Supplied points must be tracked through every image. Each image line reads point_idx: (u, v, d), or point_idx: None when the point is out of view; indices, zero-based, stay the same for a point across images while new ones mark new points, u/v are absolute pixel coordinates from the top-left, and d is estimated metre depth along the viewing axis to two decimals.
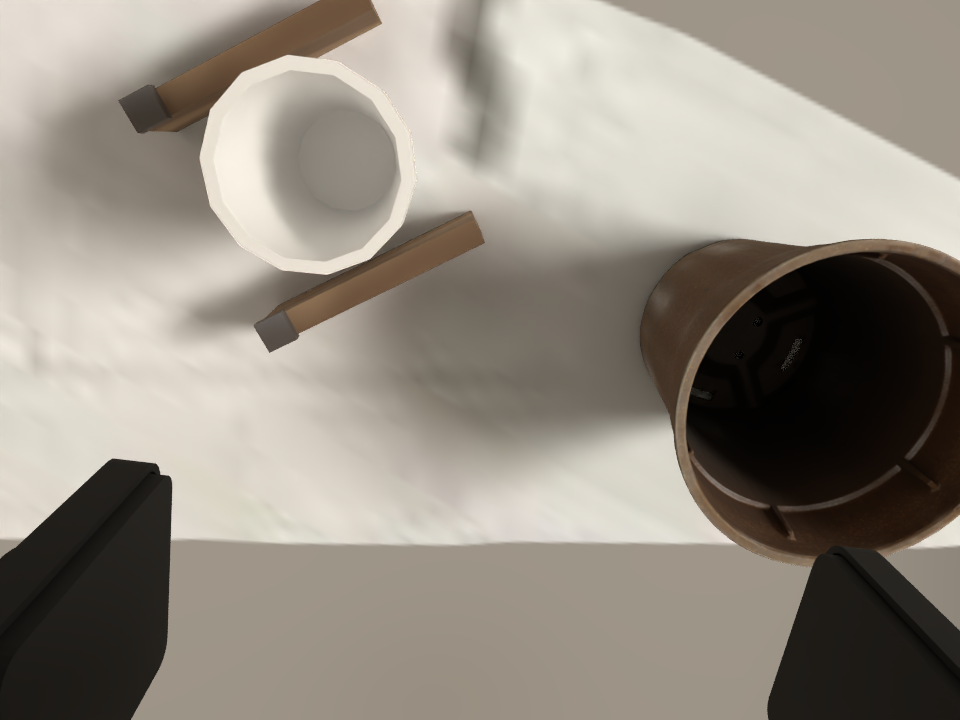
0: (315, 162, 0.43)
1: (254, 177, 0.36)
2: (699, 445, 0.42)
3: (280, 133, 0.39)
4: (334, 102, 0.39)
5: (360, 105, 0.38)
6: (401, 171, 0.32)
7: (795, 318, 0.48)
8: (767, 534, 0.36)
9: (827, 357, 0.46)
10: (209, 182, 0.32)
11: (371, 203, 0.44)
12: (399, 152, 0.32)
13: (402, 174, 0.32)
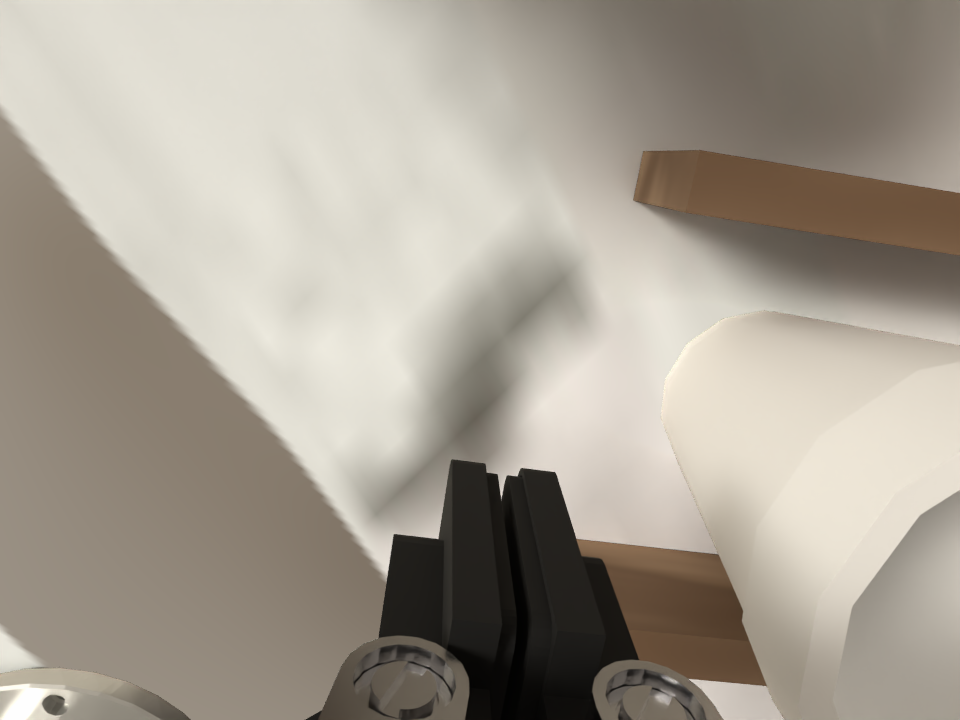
0: None
1: None
2: None
3: None
4: None
5: None
6: (904, 532, 0.11)
7: None
8: None
9: None
10: None
11: None
12: (871, 572, 0.11)
13: (906, 524, 0.11)
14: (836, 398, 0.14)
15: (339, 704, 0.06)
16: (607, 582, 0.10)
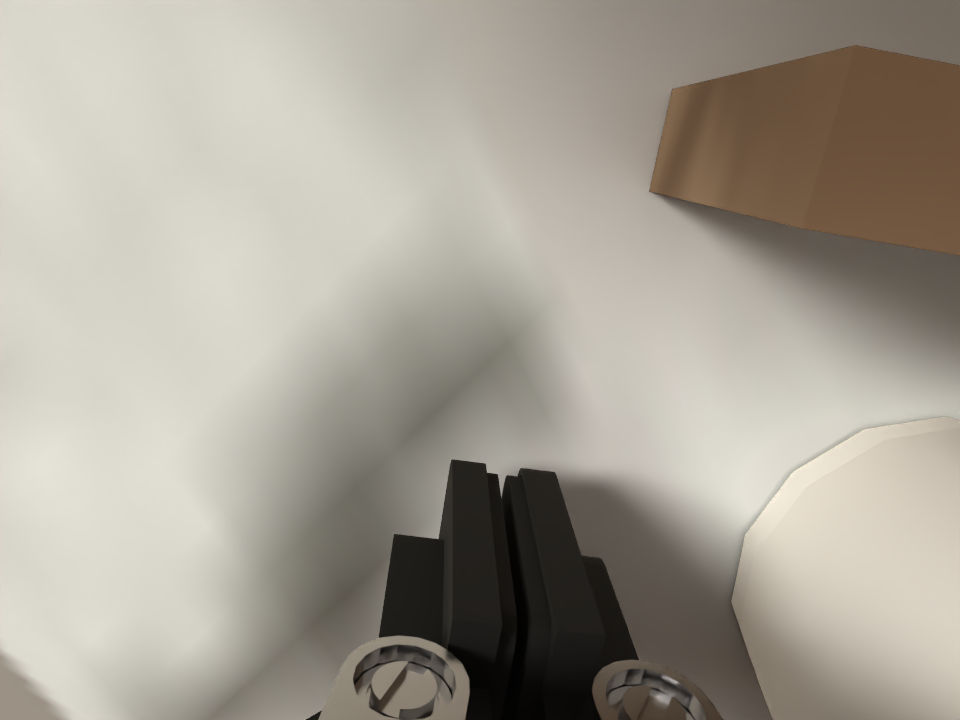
0: None
1: None
2: None
3: None
4: None
5: None
6: None
7: None
8: None
9: None
10: None
11: None
12: None
13: None
14: None
15: (340, 704, 0.06)
16: (607, 582, 0.10)
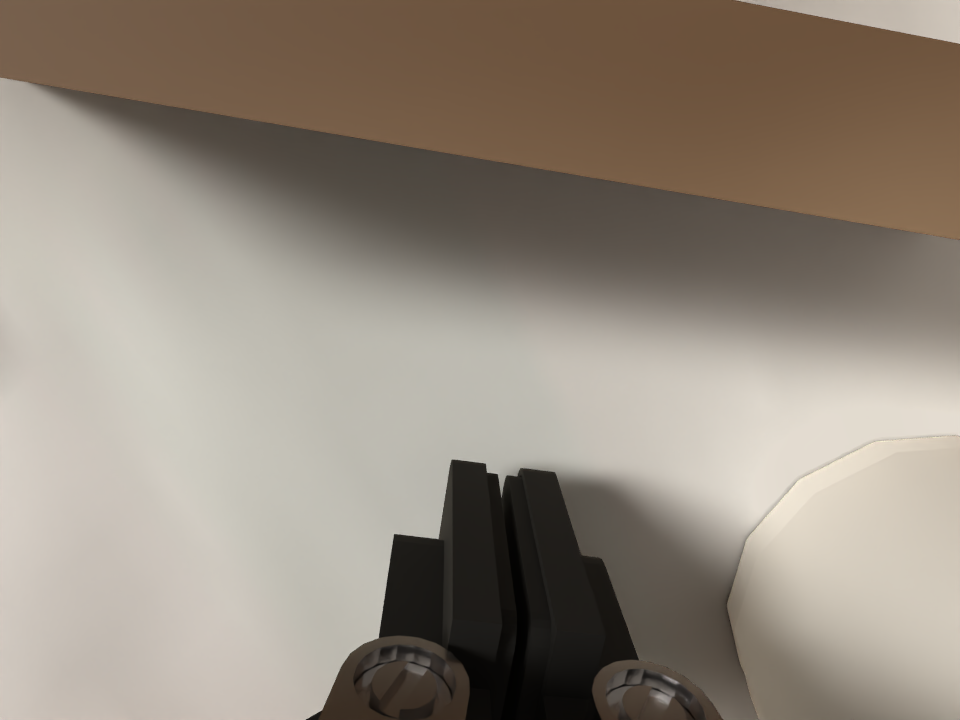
0: None
1: None
2: None
3: None
4: None
5: None
6: None
7: None
8: None
9: None
10: None
11: None
12: None
13: None
14: None
15: (339, 704, 0.06)
16: (606, 582, 0.10)
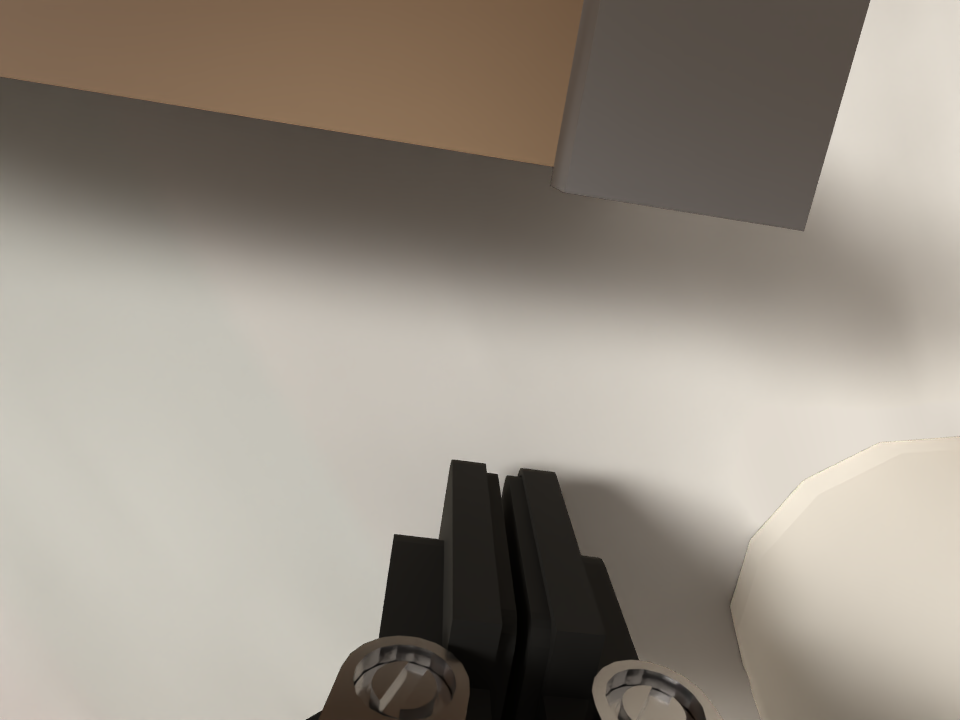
0: None
1: None
2: None
3: None
4: None
5: None
6: None
7: None
8: None
9: None
10: None
11: None
12: None
13: None
14: None
15: (339, 705, 0.06)
16: (607, 582, 0.10)
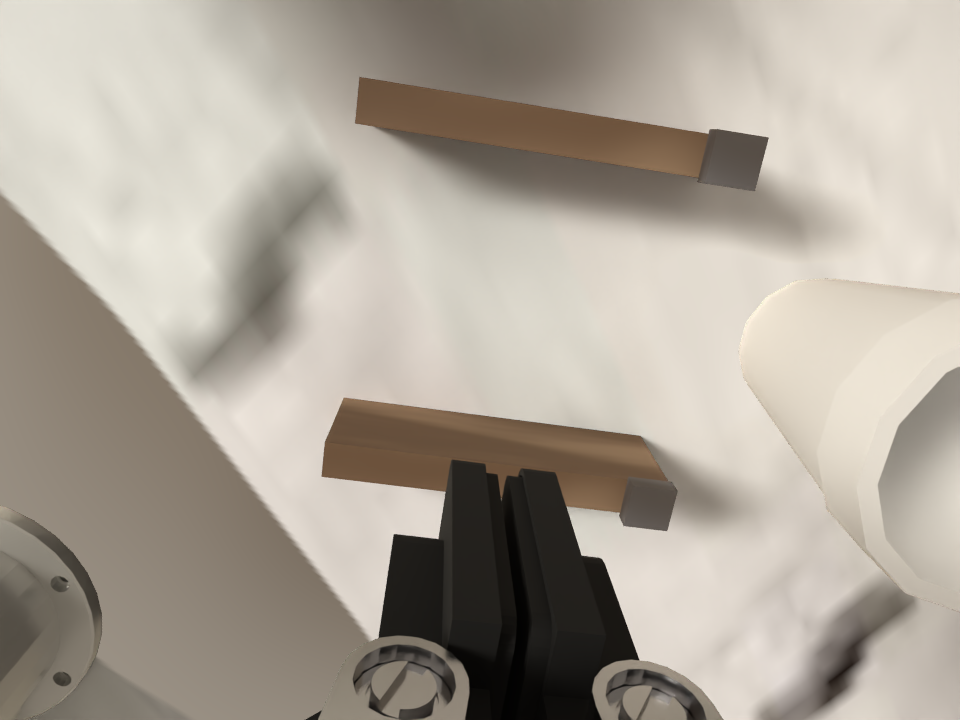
0: None
1: None
2: None
3: None
4: None
5: None
6: (935, 382, 0.19)
7: None
8: None
9: None
10: None
11: None
12: (912, 405, 0.20)
13: (937, 378, 0.19)
14: (893, 318, 0.23)
15: (340, 704, 0.06)
16: (607, 582, 0.10)
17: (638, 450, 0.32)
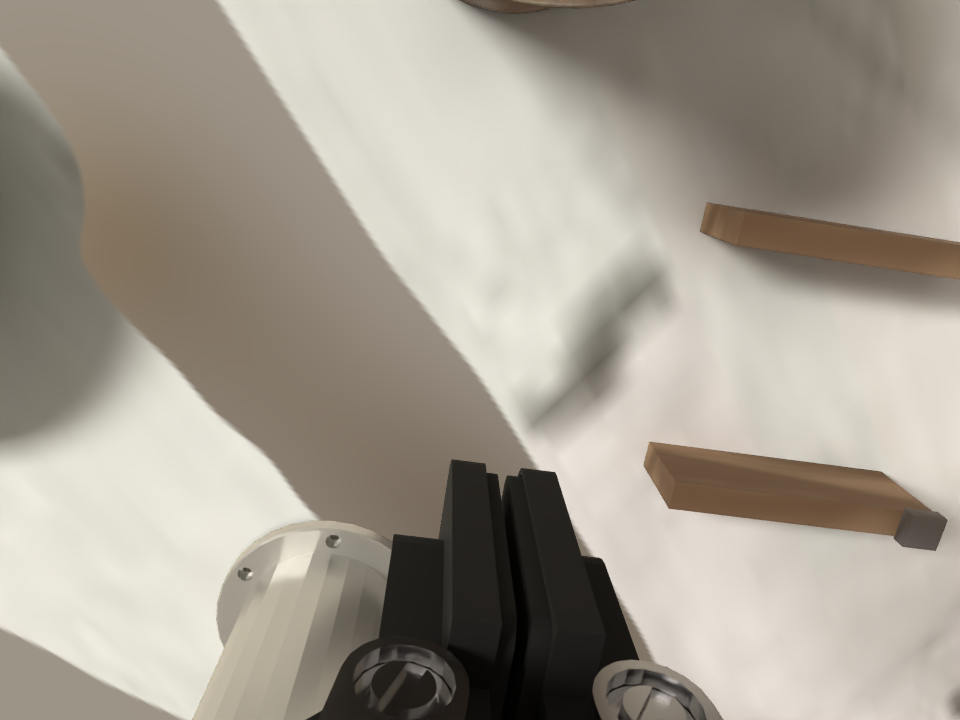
0: None
1: None
2: None
3: None
4: None
5: None
6: None
7: None
8: None
9: None
10: None
11: None
12: None
13: None
14: None
15: (340, 704, 0.06)
16: (607, 582, 0.10)
17: (890, 484, 0.40)
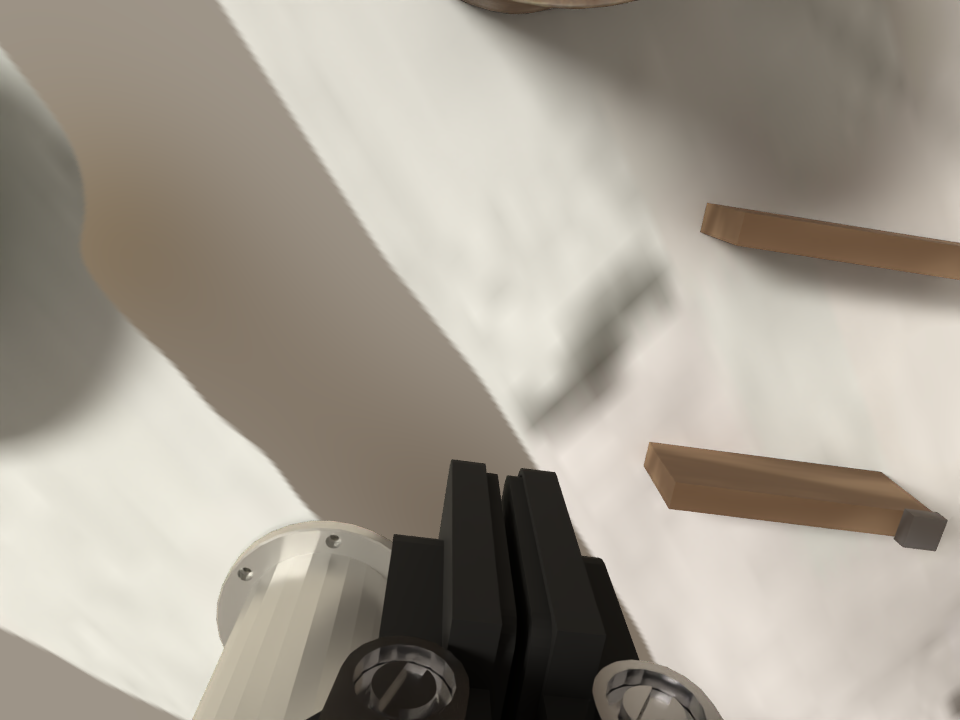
0: None
1: None
2: None
3: None
4: None
5: None
6: None
7: None
8: None
9: None
10: None
11: None
12: None
13: None
14: None
15: (339, 704, 0.06)
16: (607, 582, 0.10)
17: (890, 485, 0.40)
